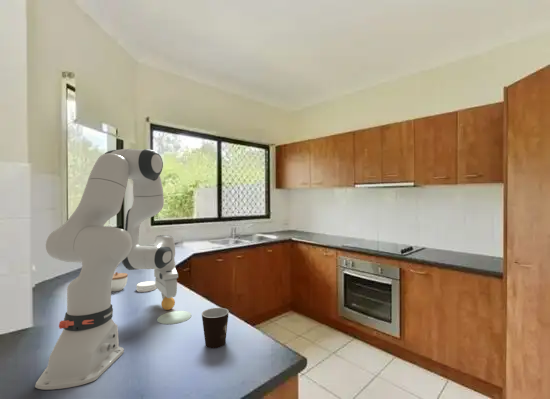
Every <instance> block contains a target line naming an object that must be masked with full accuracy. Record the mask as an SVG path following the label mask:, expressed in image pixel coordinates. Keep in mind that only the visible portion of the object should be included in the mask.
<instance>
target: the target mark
mask: <svg viewBox="0 0 550 399" xmlns="http://www.w3.org/2000/svg"><path fill="white" fill-rule="evenodd" d="M191 318H192V313H191V312H190V311H186V310H175V311H169V312H166V313H163V314H161V315H160V316H158V317H157V320H156V321H157V323H160V324H162V325H175V324H179V323H180V324H181V323H183V322H186V321H188V320H190V319H191Z"/></svg>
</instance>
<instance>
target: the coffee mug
mask: <svg viewBox="0 0 550 399" xmlns="http://www.w3.org/2000/svg"><path fill="white" fill-rule="evenodd" d="M229 311H230V310H229V309H227V308H226V307H225V308H223V307H211V308H208V309H205V310H204V311H202V312H201V318H202V328H203V336H204V337H203V338H204V342H205V343H204V344H205V347H206V348H208V349H219V348H222V347H224V346H225V345H226V340H227V332H228V323H229V322H228V321H229Z"/></svg>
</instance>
